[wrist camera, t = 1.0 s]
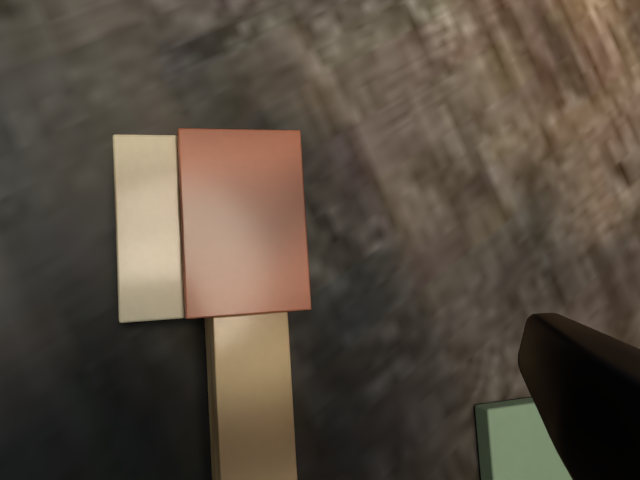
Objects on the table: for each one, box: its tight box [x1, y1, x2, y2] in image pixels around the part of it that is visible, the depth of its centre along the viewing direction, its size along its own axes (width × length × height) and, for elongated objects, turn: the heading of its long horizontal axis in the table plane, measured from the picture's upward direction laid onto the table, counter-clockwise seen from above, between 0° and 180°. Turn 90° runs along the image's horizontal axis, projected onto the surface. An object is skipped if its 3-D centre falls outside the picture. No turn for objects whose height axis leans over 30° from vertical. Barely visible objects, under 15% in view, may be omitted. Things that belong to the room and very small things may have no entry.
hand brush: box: [113, 128, 311, 480], centre depth 19 cm, size 22×8×3 cm, turn 4°
